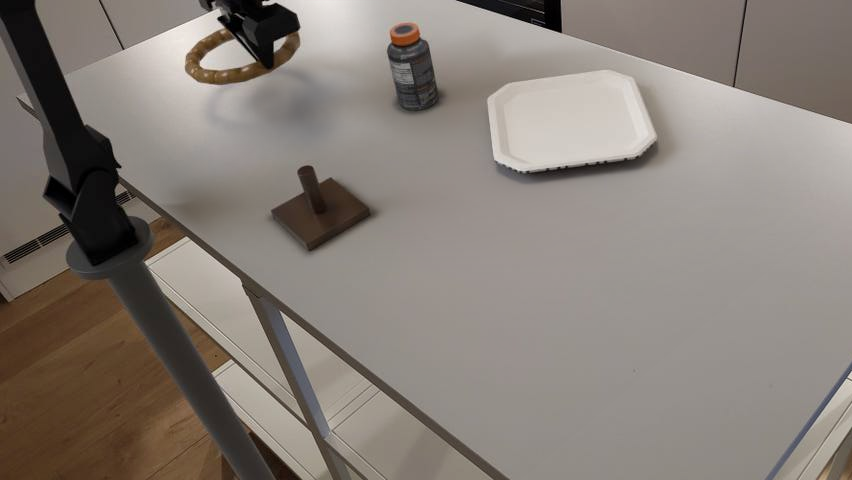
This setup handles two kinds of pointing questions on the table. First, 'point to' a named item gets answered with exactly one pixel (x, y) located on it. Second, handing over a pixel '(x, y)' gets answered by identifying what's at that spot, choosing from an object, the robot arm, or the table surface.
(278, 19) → the robot arm
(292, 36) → the ring
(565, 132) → the plate
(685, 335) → the table surface
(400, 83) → the pill bottle
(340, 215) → the wooden peg stand
